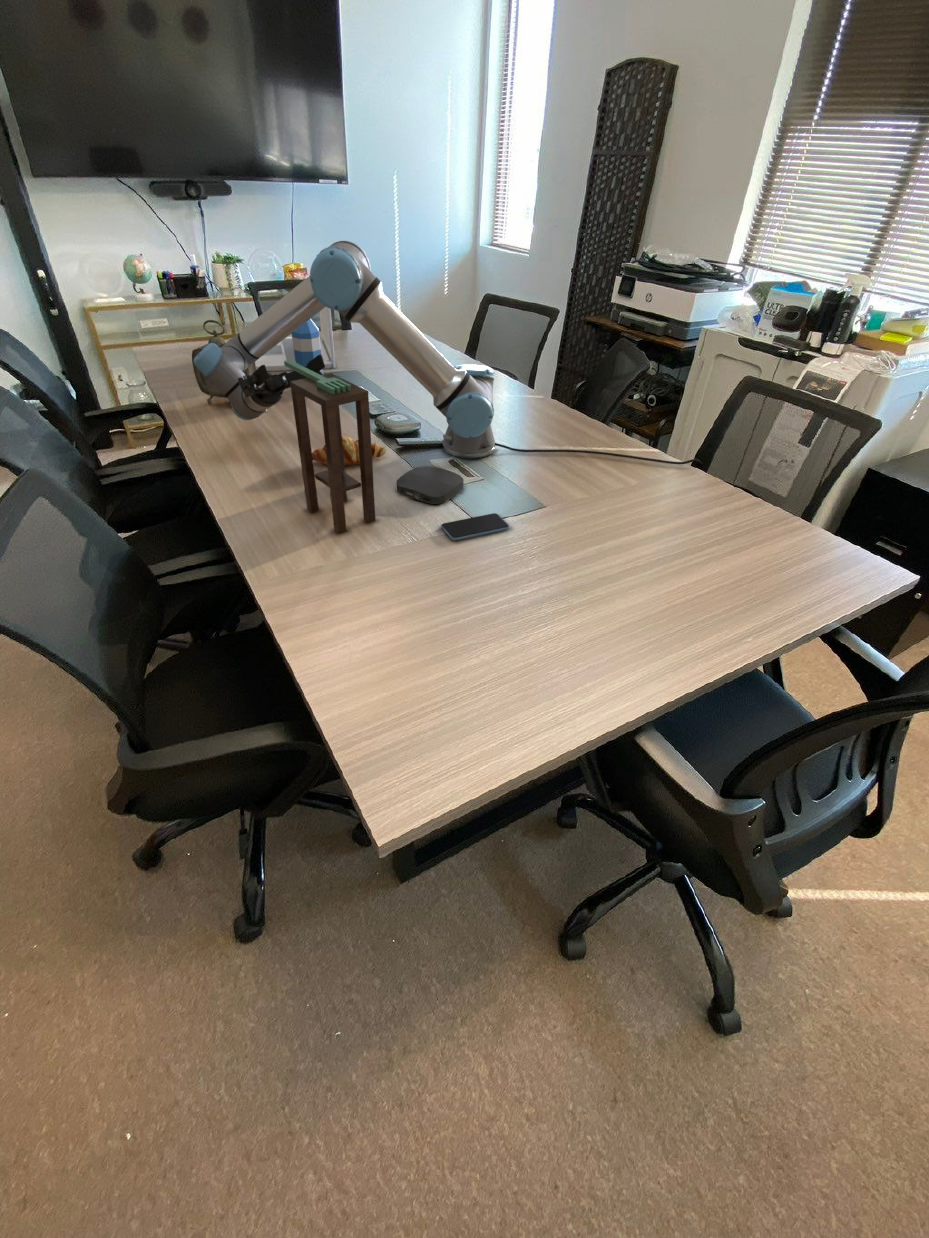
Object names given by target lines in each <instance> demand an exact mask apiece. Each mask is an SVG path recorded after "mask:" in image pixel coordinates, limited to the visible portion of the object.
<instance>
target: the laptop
mask: <svg viewBox="0 0 929 1238" xmlns="http://www.w3.org/2000/svg"><path fill="white" fill-rule="evenodd" d="M331 310H332V309H330V308H328V307H325V308H324V309H323V310H321V311H320V312H319V313H318V316H319V326H320V346H321V356H322V359H323V362H324V365H325V368H323V370H325V369H335V368H336V358H335V357H336V356H335V347H334V346H335V345H334V336H333V334H334V333H333V322H332V312H331ZM287 360H292V361H294V362H295V355H294V348H293V340H292V336H287V337H286V338H285V339H284V340H282V341H281V342H280V343H278V344H277V345H276V346H274V347H273V348H272V349H271V350H269V351H268V352H267V353H265V354H264V355H263V356H261V357H260V358H259V359H258V360H257V361H255V362H254V365H255V371H256V370H257V369H258V368H259V367H260V366H261V365H265V367H266V370H267V372H276V371H277V372H278V371H279V372H280V371H293V370H292V369H290V368H288V367H286V366H285V365H284V361H287Z"/></svg>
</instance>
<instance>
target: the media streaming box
mask: <svg viewBox="0 0 929 1238" xmlns="http://www.w3.org/2000/svg"><path fill="white" fill-rule="evenodd" d="M464 483H465V479H464V478H463V476H461V475H460V474H458V473H456V472H454V471H452V470H449V469H446V468H442V467H438V466H426V465H425V466H416V467H414V468H412V469H410V470H408V471H406V472H404V473H403V474H401V476H400V477H398V478H397V480H396V492H397V493H398V494H400V495H402V496H406V497H408V498H411V499H414V500H417V501H420V502H423V503H425V504H431V505H439V504H443V503H446V502H447V501H449V500H450V499H452V498H454V497H455V496H456V495H457V494H459V493H460V492H461V491H463V489H464V487H465V486H464V485H465V484H464Z"/></svg>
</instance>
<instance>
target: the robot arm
mask: <svg viewBox="0 0 929 1238" xmlns="http://www.w3.org/2000/svg"><path fill="white" fill-rule="evenodd" d="M325 307H328V308H330V310H333V311H336V312H338V313H339V314H340V315H341V316H342V317H343V318H344V319H345V320H346V321H348V323H351V324H352V323H357V324H360V325H361V326H362V327H363V328H364V329H365V330H366V331H367V332H368V333H369V335H370V336H372V337H373V338H374V339H375V341H377V342H378V343H379V344H380V345H381V346H382V348H384V349H385V350H386V351H387V352H388V353H389V354H390V355H391V356H392V357H393V358H394V359H395V360H396V361H397V362H398V364H400V365H401V366H402V367H403V368H404V369H405V370H406V371H407V372H408V373H409V374H410V375H411V376H412V377H413V378H414V379H415V380H416V381H417V382H419V384H420V385H421V386H422V387H423V388H424V389H425V390H426V391H427V392H428V393H429V394H430V395H432V399H433V403H432V404H433V406H434V407H435V408H436V410H438V411H439V412H440V413H441V414H442V415H443V416H444V417H445V418H446V423H447V425H448V426H447V427H446V431H445V434H442V438H443V439H442V450H443V451H444V452H445V453H447V455H450V456H452V457H455V458H459V459H466V460H467V459H468V460H469V459H470V460H476V459H483V458H486V457H489V456H491V455H493V454H494V452H495V451H496V447H500V448H503V449H506V450H508V451H509V450H510V451H513V452H520V453H578V454H579V453H580V454H593V455H603V456H611V457H612V456H613V457H619V458H627V459H634V460H640V461H641V460H642V461H649V462H656V463H662V464H669V465H687V464H690V463H695V462H696V463H698V464H699V465H703V463H702V461H701V460H700V459H697V458H692V459H689V460H685V461H673V460H672V461H671V460H663V459H657V458H651V457H643V456H637V455H630V454H628V455H627V454H621V453H614V452H606V451H596V450H584V449H583V450H582V449H525V448H524V449H523V448H514V447H510V446H507V445H505V444H501V443H497V442H496V439H495V436H494V432H493V428H492V422H493V420H494V415H495V408H494V381H495V371H494V369H493V368H492V367H489V366H486V365H482V364H481V365H480V364H469V363H468V364H467V363H466V364H457V365H453V364H452V363H450V361H449V360H448V359H446V357H445V356H444V355H443V354H442V353H441V352H440V351H439V350H438V349H437V348H436V347H435V346H434V345H433V344H432V342H431V341H429V340H428V339H427V337H425V335H424V334H423V333H422V332H421V331H420V330H419V329H418V328H417V327H416V326H415V325H414V324H413V323H412V322H411V321H410V320H409V318H407V316H405V315H404V314H403V312H402V311H401V310H400V309H399V308H398V307H397V306H396V305H395V304H394V303H393V302H392V301H391V300H390V299H389V298H388V297H387V296H386V295H385V294H384V291H383V282H382V281H381V279H379V277H377V275H376V274H375V273H374V272H373V271H372V267H371V261H370V259H369V257H368V255H367V254H366V252H365V250H364V249H363V248H362V247H361V246H360V245H358V244H357V243H355V242H353V241H350V240H339V241H335V242H333V243H332V244H330V245H329V246H328V247H325V248H323V249H322V250H320V252H319V253H318V254H316V256H315V258H314V259H313V261H312V263H311V265H310V270H309V275H308V276H307V277H306V278H304V279H303V280H302V281H301V282H300V283H298V284H297V285H296V286H295V287H294V288H292V289H291V290H290V291H288V292H287V293H286V294H284V296H282V297H281V298H280V299H279V300H277V301H276V302H275V303H273V304H272V305H271V306H270V307H269V308H267V309H266V310H265V311H264V312H263V313H261V314H260V315H259V316H258V317H257V318H255V319H254V320H253V321H252V322H251V323H249V324H248V325H247V326H245V327H244V328H243V329H242V330H241V331H239V332H238V333H237V334H236V335H233V337H232V338H230V339H229V340H228V341H227V342H225V343H226V344H225V345H223V346H222V347H221V348H219V347H218V346H217V345H216V344H214V343H210V344H208V343H207V344H208V345H207V346H206V347H205V348H204V349H203V350H202V351H201V352H200V353H199V354H198V355H197V356H196V357H195V358H194V365H195V366H196V367H197V368H198V369H199V370H200V371H201V373H202V374H203V375H204V376H205V377H206V378H207V379H208V380H209V381H210V382H211V383H212V384H213V385H214V386H215V387H216V388H217V389H218V390H219V391H220V392H221V393H223V394H224V395H225V396H226V397H227V398H226V399H227V400H228V401H229V402H230V407H231V409H232V411H233V413H234V414H235V415H236V416H237V418H239V419H241V420H244V421H251V420H254V419H257V418H259V417H260V416H261V415H263V414H264V413H268V410H269V409H270V408H272V407H273V406H275V405H276V404H278V403H279V402H280V401H281V399H282V398H283V394H284V392H285V390H287V389H291V385H290V381H295V380H300V379H305V378H307V377H306V376H304V375H302V374H300V373H298V372H296V371H294V370H291V371H283V372H281V373H279V374H278V373H277V374H275V373H274V374H272V373H271V372H270V373H269V371H267V370H266V367H265V365H261V366H260V367H259V368H258V369H257V370H256V369H255V371H253V373H252V374H249V375H248V376H246V375H245V374H244V373H243V371H244V370H245V369H247V368H248V369H249V367H250V366H251V365H253V364H255V361H257V360H258V359H259V358H260V357H261V356H263V355H264V354H265V353H267V352H268V351H269V350H271V349H272V348H273V347H274V346H276V345H277V344H278V343H280V342H281V341H282V340H284V339H285V338H286V337H290V335H292V333H293V332H294V331H295V330H297V329H298V328H299V327H300V326H302V325H303V324H304V323H306V322H307V321H308V320H310V319H312V318H314V317H315V316H317V315H318V314H319V312H320V311H321V310H323V309H324V308H325ZM305 367H306V368H308V369H309V370H311V371H313V372H315V373H317V374H319V375H322V374H323V375H324V372H323V373H322V369H323V368H325V365H324V362H323V359H322V356H321V355H318V356H316V357H315V358H314V359H313V360H311V361H309V363H308V364H307V366H305ZM323 370H324V369H323Z"/></svg>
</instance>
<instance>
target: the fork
mask: <svg viewBox="0 0 929 1238" xmlns="http://www.w3.org/2000/svg"><path fill="white" fill-rule="evenodd" d="M284 365H285V366H286V367H288V368H290V369H292V370H291V371H296V372H298V373H300V374H302V375H304V376H306V377H307V378H309V379H311V380H313V381H315V382H316V383H317V387H318V388H320V389H322V390H324V391H326V392H328V393H330V394H332V395H334V394H335V393H337V394H339V393H340V391H341V392H346V391H351V385H350V384H348V383H346V382H344V381H342V380H340V379H337V378H335V377H333V378H328V379H327V378H325V377H323V376H321V375H319V374H317V373H315V372H313V371H311V370H309V369H308V368H306V367H304V366H302V365H300V364H298V363H296V362H294V361H292V360H287V361H284Z"/></svg>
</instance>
